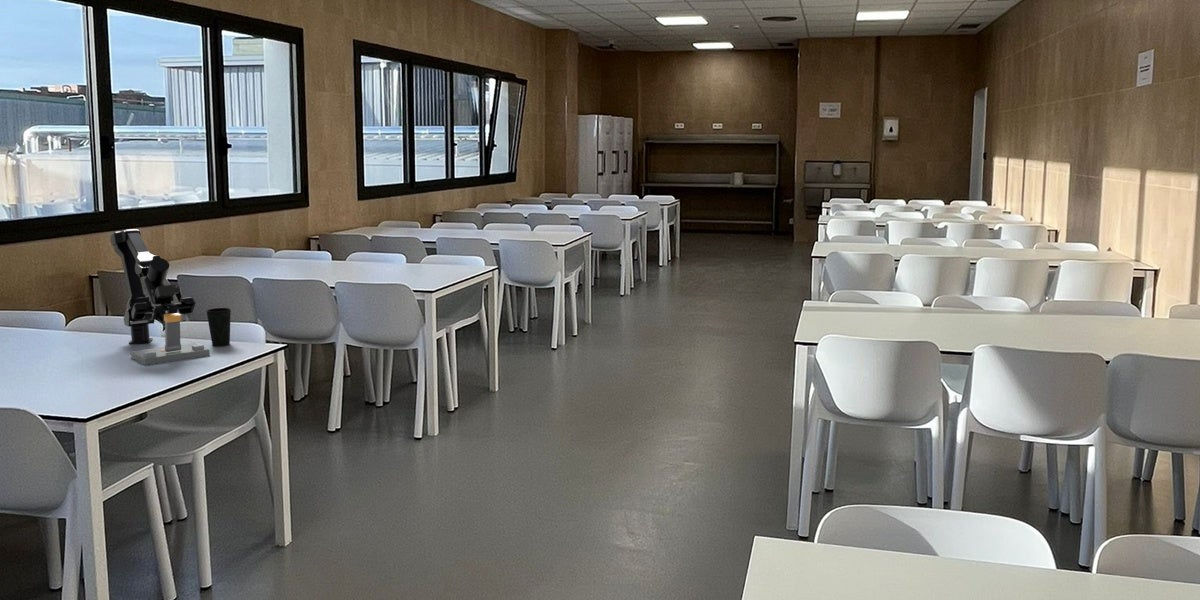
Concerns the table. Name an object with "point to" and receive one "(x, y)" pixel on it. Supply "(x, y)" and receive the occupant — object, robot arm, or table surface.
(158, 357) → the panel
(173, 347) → the handle
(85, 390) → the table surface
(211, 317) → the cup
